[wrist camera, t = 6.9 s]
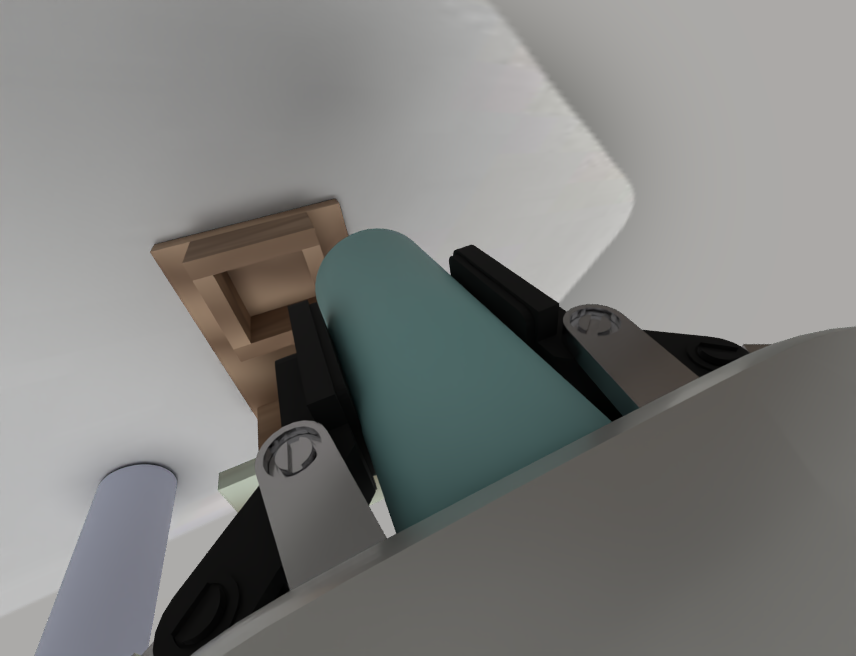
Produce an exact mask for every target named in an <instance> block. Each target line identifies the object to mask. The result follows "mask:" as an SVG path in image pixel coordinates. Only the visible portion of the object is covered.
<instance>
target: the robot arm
mask: <svg viewBox="0 0 856 656" xmlns="http://www.w3.org/2000/svg"><path fill="white" fill-rule="evenodd" d="M449 265H450V273H451V276H452V277H453V278H454V279H455V280H456V281H457V282H458V283H459V284H461V285H462V286H463V287H464V288H465V289H466V290H467V291H468V292H469V293H471V294H472V295H473V296H474V297H475V298H476V299H477V300H478V301H479V302H480V303H482V304H483V305H484V306H485V307H486V308H487V309H488V310H489V311H490V312H491V313H493V314H494V315H495V316H496V317H497V318H498V319H499V320H500V321H501V322H502V323H504V324H505V325H506V326H507V327H508V328H509V329H510V330H511V331H512V332H514V333H515V334H516V335H517V336H518V337H519V338H520V339H521V340H522V341H523V342H525V343H526V344H527V345H528V346H529V347H530V348H531V349H532V350H533V351H534V352H536V353H537V354H538V355H539V356H540V357H541V358H542V359H543V360H544V361H545V362H547V363H548V364H549V365H550V366H551V367H552V368H553V369H554V370H555V371H557V372H558V373H559V374H560V375H561V376H562V377H563V378H564V379H565V380H566V381H568V382H569V383H570V384H571V385H572V386H573V387H574V388H575V389H576V390H577V391H579V392H580V393H581V394H582V395H583V396H584V397H585V398H586V399H587V400H588V401H590V402H591V403H592V404H593V405H594V406H595V407H596V408H597V409H598V410H600V411H601V412H602V413H603V414H604V415H605V416H606V417H607V418H608V419H609V420H611V421H612V422H611V423H609V424H607V425H605V426H603V427H601V428H599V429H597V430H595V431H594V432H592V433H590V434H588V435H586V436H584V437H582V438H580V439H578V440H576V441H574V442H572V443H570V444H568V445H566V446H564V447H562V448H560V449H559V450H557V451H555V452H553V453H551V454H549V455H547V456H545V457H543V458H541V459H539V460H537V461H535V462H533V463H531V464H530V465H528V466H526V467H524V468H522V469H520V470H518V471H516V472H514V473H512V474H510V475H508V476H506V477H504V478H502V479H500V480H499V481H497V482H495V483H493V484H491V485H489V486H487V487H485V488H483V489H481V490H479V491H477V492H476V493H474V494H472V495H470V496H468V497H466V498H464V499H462V500H460V501H458V502H456V503H454V504H453V505H451V506H449V507H447V508H445V509H443V510H441V511H439V512H437V513H435V514H433V515H431V516H430V517H428V518H426V519H424V520H422V521H420V522H418V523H416V524H414V525H412V526H410V527H408V528H407V529H405V530H403V531H401V532H399V533H397V534H395V535H393V536H391V537H389V538H386V536H385V534H384V532H383V530H382V529H381V527H380V525H379V523H378V521H377V520H376V518H375V516H374V514H373V512H372V511H371V509H370V507H369V505H370V503H371V501H372V499H373V497H374V495H375V493H376V490H377V486H376V483H375V480H374V477H373V476H375V475H376V472H375V469H374V466H373V463H372V461H371V458H370V455H369V452H368V449H367V446H366V443H365V440H364V437H363V433H362V427H361V424H360V421H359V418H358V415H357V412H356V409H355V406H354V403H353V400H352V398H351V395H350V392H349V389H348V386H347V383H346V380H345V377H344V374H343V371H342V369H341V366H340V363H339V360H338V357H337V354H336V351H335V348H334V345H333V343H332V340H331V337H330V334H329V331H328V328H327V326H326V323H325V321H324V318H323V316H322V313H321V311H320V308H319V306H318V304H317V302H315V303H312V304H309V302H308V300H305V301H302V302H299V303H296V304H293V305H290V306H287V307H288V312H289V318H290V323H291V328H292V333H293V338H294V343H295V348H296V353H295V354H292V355H289V356H286V357H284V358H281V359H278V360H276V361H275V372H276V381H277V390H278V399H279V408H280V418H281V427H282V428H281V429H279V430H278V431H276V432H275V433H273V434H272V435H271V436H270V437H269V438H268V439H267V440H266V441H265V442H264V444H263V445H262V447H261V448H260V450H259V452H258V454H257V457H256V460H255V473H256V477H257V480H258V483H259V486H258V487H257V489H256V490H255V491H254V492H253V494H252V495H251V496H250V498H249V499H248V500H247V502H246V503H245V504H244V506H243V507H242V508H241V509H240V511H239V512H238V514H237V515H236V516H235V518H234V519H233V520H232V521H231V523H230V524H229V525H228V527H227V528H226V529H225V530H224V532H223V533H222V534H221V536H220V537H219V538H218V540H217V541H216V542H215V544H214V545H213V546H212V547H211V549H210V550H209V551H208V553H207V554H206V555H205V557H204V558H203V559H202V561H201V562H200V563H199V564H198V566H197V567H196V569H195V570H194V571H193V572H192V574H191V575H190V576H189V578H188V579H187V580H186V581H185V583H184V584H183V586H182V587H181V588H180V589H179V591H178V592H177V593H176V595H175V596H174V597H173V599H172V600H171V602H170V603H169V605H168V607H167V608H166V610H165V611H164V613H163V615H162V617H161V620H160V622H159V625H158V627H157V630H156V632H155V638H154V642H153V643H152V644H151V645H150V646H149V647H148V649H147V650H146V651H145V652H144V653H143V654H142V655H139V654H137V653H134V654H133V655H132V656H856V327H847V328H837V329H829V330H824V331H819V332H815V333H810V334H805V335H800V336H797V337H794V338H790V339H787V340H784V341H781V342H777V343H774V344H744V345H743V346H742V347H741V346H739V345H737V344H735V343H733V342H730V341H727V340H724V339H720V338H715V337H708V336H698V335H687V334H678V333H668V332H659V331H649V330H642V329H640V328H639V327H638V326H637V325H636V324H634V323H633V322H632V321H631V320H629V319H628V318H627V317H626V316H624V315H623V314H622V313H621V312H619V311H617V310H616V309H613V308H610V307H608V306H603V305H598V304H586V305H580V306H577V307H574V308H571V309H570V310H569V311H567V312H566V311H565V310H563V309H562V308H561V307H559V303H558V302H556V301H555V300H553V299H552V298H550V297H549V296H547V295H546V294H544V293H543V292H541V291H540V290H539V289H537V288H536V287H534V286H533V285H531V284H530V283H528V282H527V281H525V280H524V279H522V278H521V277H520V276H518V275H517V274H515V273H514V272H512V271H511V270H509V269H508V268H506V267H505V266H503V265H502V264H500V263H499V262H498V261H496V260H495V259H493V258H492V257H490V256H489V255H487V254H486V253H484V252H483V251H481V250H480V249H479V248H477V247H476V246H474V245H469V246H466V247H463V248H460V249H457V250H455V251H454V253H453V256H451V257H450V258H449Z"/></svg>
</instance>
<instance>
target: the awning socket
mask: <svg viewBox="0 0 856 656" xmlns="http://www.w3.org/2000/svg"><path fill="white" fill-rule="evenodd" d="M346 237H348V233H347V229H346V226H345V222H344V219H343V215H342V211H341V208H340V204H339V202H338V201H337V200H336V199H332V200H328V201H324V202H320V203H316V204H312V205H308V206H304V207H300V208H297V209H293V210H289V211H285V212H281V213H277V214H273V215H269V216H265V217H261V218H257V219H253V220H249V221H245V222H241V223H237V224H234V225H230V226H226V227H222V228H218V229H214V230H210V231H206V232H202V233H198V234H194V235H190V236H186V237H182V238H178V239H175V240H171V241H167V242H163V243H159V244H155V245H154V246H153V248H152V250H151V251H150V253H151V254H152V256H153V257H154V259H155V260H156V262H157V264H158V265H159V267H160V268H161V270H162V271H163V273H164V274H165V276H166V278H167V279H168V281H169V282H170V284H171V285H172V287H173V288H174V290H175V292H176V293H177V295H178V296H179V298H180V299H181V301H182V302H183V304H184V306H185V307H186V309H187V310H188V312H189V313H190V315H191V316H192V318H193V320H194V321H195V323H196V324H197V326H198V327H199V329H200V330H201V332H202V334H203V335H204V337H205V338H206V340H207V341H208V343H209V344H210V346H211V348H212V349H213V351H214V352H215V354H216V355H217V357H218V358H219V360H220V362H221V363H222V365H223V366H224V368H225V369H226V371H227V372H228V374H229V376H230V377H231V379H232V380H233V382H234V383H235V385H236V386H237V388H238V390H239V391H240V393H241V394H242V396H243V397H244V399H245V400H246V402H247V404H248V405H249V407H250V408H251V410H252V411H253V413H254V414H255V416H256V417H257V419H258V447H259V450H260V448H261V447H262V445H263V444H264V442H265V441H266V440H267V439H268V438H269V437H270V436H271V435H272V434H273V433H275V432H276V431H278V430H279V429H281V428H282V427H281V418H280V408H279V399H278V390H277V381H276V372H275V361H276V360H278V359H281V358H284V357H286V356H289V355H292V354H295V353H296V348H295V343H294V338H293V333H292V328H291V323H290V318H289V312H288V307H287V306H290V305H293V304H296V303H299V302H302V301H305V300H308V302H309V304H312V303H315V302H317V299H316V292H315V283H316V276H317V273H318V270H319V267H320V265H321V263H322V261H323V259H324V258H325V256H326V255H327V254H328V252H329V251H330V250H331V249H332V248H333V247H334V246H335V245H336V244H337V243H338V242H340V241H341V240H343V239H344V238H346ZM317 304H318V302H317ZM318 306H319V305H318ZM255 460H256V458H255V459H252V460H250V461H247V462H245V463H243V464H240V465H238V466H235V467H233V468H230V469H228V470H225V471H223V472H220V473H219V481H218V491H219V492H220V493H221V494H222V496H223V497H224V498H225V499H226V500H227V501H228V502H229V503H230V504H231V505H232V507H233V508H234V509H235V510H236V511H237V512H239V511H240V509H241V508H242V507H243V506H244V504H245V503H246V502H247V500H248V499H249V498H250V496H251V495H252V494H253V492H254V491H255V490H256V489H257V487H258V486H259V483H258V480H257V477H256V473H255ZM373 477H374V480H375V483H376V486H377V490H376V493H375V495H374V497H373V499H372V501H371V503H370V505H372V504H374V503H376V502H378V501H381V500H383V499H384V496H383V493H382V490H381V487H380V484H379V481H378V478H377V475H375V476H373ZM370 505H369V506H370Z"/></svg>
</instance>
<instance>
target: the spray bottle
mask: <svg viewBox="0 0 856 656" xmlns="http://www.w3.org/2000/svg"><path fill="white" fill-rule="evenodd" d="M176 489H177V480H176V478H175V476H174V474H173V473H172V472H170V471H169V470H167V469H166V468H163V467H160V466H156V465H148V464H140V465H132V466H128V467H124V468H121V469H119V470H116V471H114V472H112V473H111V474H109V475H108V476H107V477H105V478H104V479H103V480H102V481H101V483H100V484H99V486H98V488H97V491H96V493H95V496H94V499H93V501H92V504H91V507H90V509H89V512H88V515H87V517H86V520H85V523H84V525H83V528H82V531H81V533H80V536H79V539H78V541H77V544H76V546H75V549H74V552H73V554H72V557H71V560H70V562H69V565H68V568H67V570H66V573H65V576H64V578H63V581H62V584H61V586H60V589H59V592H58V594H57V597H56V600H55V602H54V605H53V608H52V610H51V613H50V616H49V618H48V621H47V624H46V626H45V629H44V632H43V634H42V637H41V640H40V643H39V645H38V648H37V650H36V653H35V655H34V656H132V655H133V654H134V653H137V654H139V655H142V654H143V653H144V652H145V651H146V650H147V649H148V646H149V641H150V635H151V629H152V624H153V618H154V613H155V606H156V601H157V596H158V590H159V584H160V578H161V573H162V567H163V561H164V556H165V551H166V545H167V539H168V534H169V528H170V522H171V517H172V511H173V506H174V500H175V494H176Z"/></svg>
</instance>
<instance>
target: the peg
mask: <svg viewBox="0 0 856 656" xmlns="http://www.w3.org/2000/svg"><path fill="white" fill-rule="evenodd" d="M315 292H316V299H317V302H318V305H319V308H320V311H321V313H322V316H323V318H324V321H325V323H326V326H327V328H328V331H329V334H330V337H331V340H332V343H333V345H334V348H335V351H336V354H337V357H338V360H339V363H340V366H341V369H342V371H343V374H344V377H345V380H346V383H347V386H348V389H349V392H350V395H351V398H352V400H353V403H354V406H355V409H356V412H357V415H358V418H359V421H360V424H361V427H362V433H363V437H364V440H365V443H366V446H367V449H368V452H369V455H370V458H371V461H372V463H373V466H374V469H375V472H376V475H377V478H378V481H379V484H380V487H381V490H382V493H383V496H384V499H385V502H386V505H387V507H388V510H389V513H390V516H391V519H392V522H393V525H394V527H395V531H396V534H397V533H399V532H401V531H403V530H405V529H407V528H408V527H410V526H412V525H414V524H416V523H418V522H420V521H422V520H424V519H426V518H428V517H430V516H431V515H433V514H435V513H437V512H439V511H441V510H443V509H445V508H447V507H449V506H451V505H453V504H454V503H456V502H458V501H460V500H462V499H464V498H466V497H468V496H470V495H472V494H474V493H476V492H477V491H479V490H481V489H483V488H485V487H487V486H489V485H491V484H493V483H495V482H497V481H499V480H500V479H502V478H504V477H506V476H508V475H510V474H512V473H514V472H516V471H518V470H520V469H522V468H524V467H526V466H528V465H530V464H531V463H533V462H535V461H537V460H539V459H541V458H543V457H545V456H547V455H549V454H551V453H553V452H555V451H557V450H559V449H560V448H562V447H564V446H566V445H568V444H570V443H572V442H574V441H576V440H578V439H580V438H582V437H584V436H586V435H588V434H590V433H592V432H594V431H595V430H597V429H599V428H601V427H603V426H605V425H607V424H609V423H611V422H612V421H611V420H609V419H608V418H607V417H606V416H605V415H604V414H603V413H602V412H601V411H600V410H598V409H597V408H596V407H595V406H594V405H593V404H592V403H591V402H590V401H588V400H587V399H586V398H585V397H584V396H583V395H582V394H581V393H580V392H579V391H577V390H576V389H575V388H574V387H573V386H572V385H571V384H570V383H569V382H568V381H566V380H565V379H564V378H563V377H562V376H561V375H560V374H559V373H558V372H557V371H555V370H554V369H553V368H552V367H551V366H550V365H549V364H548V363H547V362H545V361H544V360H543V359H542V358H541V357H540V356H539V355H538V354H537V353H536V352H534V351H533V350H532V349H531V348H530V347H529V346H528V345H527V344H526V343H525V342H523V341H522V340H521V339H520V338H519V337H518V336H517V335H516V334H515V333H514V332H512V331H511V330H510V329H509V328H508V327H507V326H506V325H505V324H504V323H502V322H501V321H500V320H499V319H498V318H497V317H496V316H495V315H494V314H493V313H491V312H490V311H489V310H488V309H487V308H486V307H485V306H484V305H483V304H482V303H480V302H479V301H478V300H477V299H476V298H475V297H474V296H473V295H472V294H471V293H469V292H468V291H467V290H466V289H465V288H464V287H463V286H462V285H461V284H459V283H458V282H457V281H456V280H455V279H454V278H453V277H452V276H451V275H450V274H448V273H447V272H446V271H445V270H444V269H443V268H442V267H441V266H440V265H439V264H437V263H436V262H435V261H434V260H433V259H432V258H431V257H430V256H429V255H428V254H426V253H425V252H424V251H423V250H422V249H421V248H420V247H419V246H418V245H416V244H415V243H414V242H413V241H412V240H411V239H409V238H408V237H407V236H405V235H403V234H401V233H399V232H396V231H393V230H388V229H367V230H363V231H359V232H357V233H354V234H351V235H350V236H348V237H346V238H344V239H343V240H341V241H340V242H338V243H337V244H336V245H335V246H334V247H333V248H332V249H331V250H330V251H329V252H328V254H327V255H326V256H325V258H324V259H323V261H322V263H321V265H320V267H319V270H318V273H317V276H316V283H315Z"/></svg>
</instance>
